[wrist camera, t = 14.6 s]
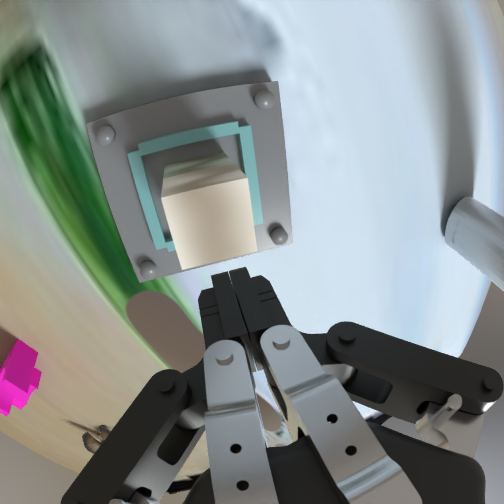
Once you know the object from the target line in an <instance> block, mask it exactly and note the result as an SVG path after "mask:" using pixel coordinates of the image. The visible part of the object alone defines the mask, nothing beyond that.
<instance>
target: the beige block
mask: <svg viewBox="0 0 504 504" xmlns="http://www.w3.org/2000/svg"><path fill="white" fill-rule="evenodd" d="M161 200H162V204H163V207H164V211H165V215H166V218H167V222H168V225H169V229H170V232H171V235H172V239H173V242H174V245H175V249H176V252H177V255H178V258H179V262H180V265H181V268H182V270H185V269H189V268H193V267H197V266H201V265H205V264H209V263H213V262H217V261H221V260H225V259H229V258H233V257H237V256H241V255H245V254H249V253H253V252H257V244H256V236H255V228H254V221H253V213H252V206H251V198H250V191H249V184H248V178H247V177H246V175H245V174H244V173H243V172H242V171H241V170H240V169H239V168H238V167H237V166H236V164H235V163H234V162H233V161H232V160H231V159H230V158H229V157H228V156H227V155H226V154H225V153H224V152H222V153H217V154H212V155H208V156H203V157H199V158H194V159H190V160H185V161H181V162H177V163H173V164H169V165H165V168H164V176H163V184H162V193H161Z"/></svg>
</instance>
